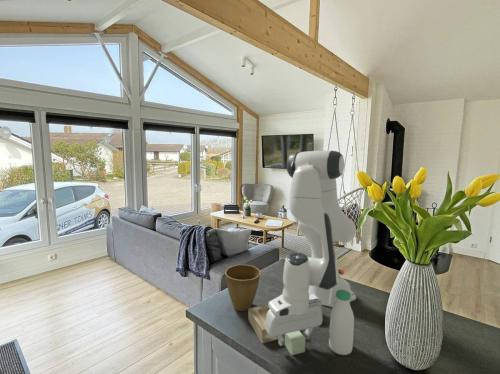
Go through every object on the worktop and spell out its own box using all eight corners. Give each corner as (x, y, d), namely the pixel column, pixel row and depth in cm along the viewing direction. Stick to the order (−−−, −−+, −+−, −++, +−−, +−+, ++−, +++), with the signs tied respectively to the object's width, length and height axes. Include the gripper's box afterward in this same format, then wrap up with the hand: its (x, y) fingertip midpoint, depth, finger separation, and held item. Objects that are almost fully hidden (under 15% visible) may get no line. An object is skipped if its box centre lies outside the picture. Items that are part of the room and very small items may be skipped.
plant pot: (218, 306, 118) (218, 270, 116) (244, 294, 128) (244, 261, 126) (240, 321, 107) (240, 283, 105) (266, 307, 117) (267, 272, 115)
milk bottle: (357, 353, 91) (360, 296, 88) (337, 358, 88) (340, 300, 86) (343, 338, 98) (346, 285, 96) (324, 342, 96) (326, 288, 93)
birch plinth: (282, 313, 113) (282, 301, 112) (299, 333, 100) (300, 320, 99) (248, 320, 108) (248, 307, 107) (262, 343, 95) (262, 329, 94)
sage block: (297, 342, 96) (297, 329, 95) (304, 351, 91) (305, 338, 91) (284, 345, 94) (285, 332, 93) (291, 355, 89) (292, 341, 89)
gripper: (316, 293, 97) (314, 329, 99) (263, 303, 90) (263, 341, 92) (327, 302, 91) (325, 340, 93) (271, 313, 84) (270, 354, 86)
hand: (293, 341), depth 92 cm, fingers open, 8 cm apart
